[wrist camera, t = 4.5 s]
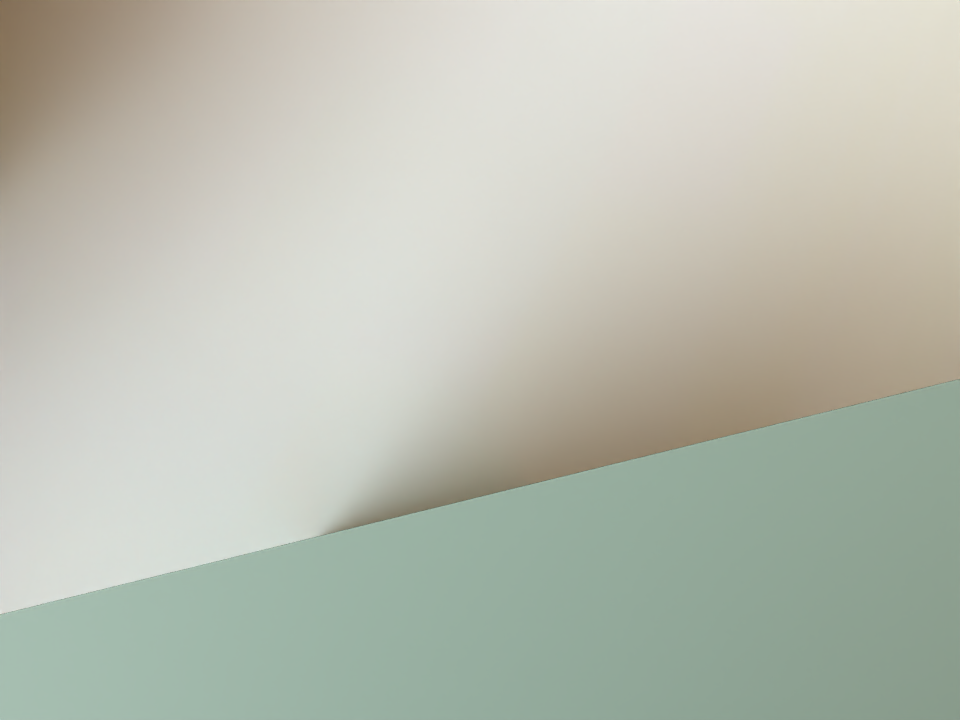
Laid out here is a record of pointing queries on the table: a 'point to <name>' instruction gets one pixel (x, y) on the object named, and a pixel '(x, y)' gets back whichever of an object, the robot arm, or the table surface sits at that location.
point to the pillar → (564, 598)
